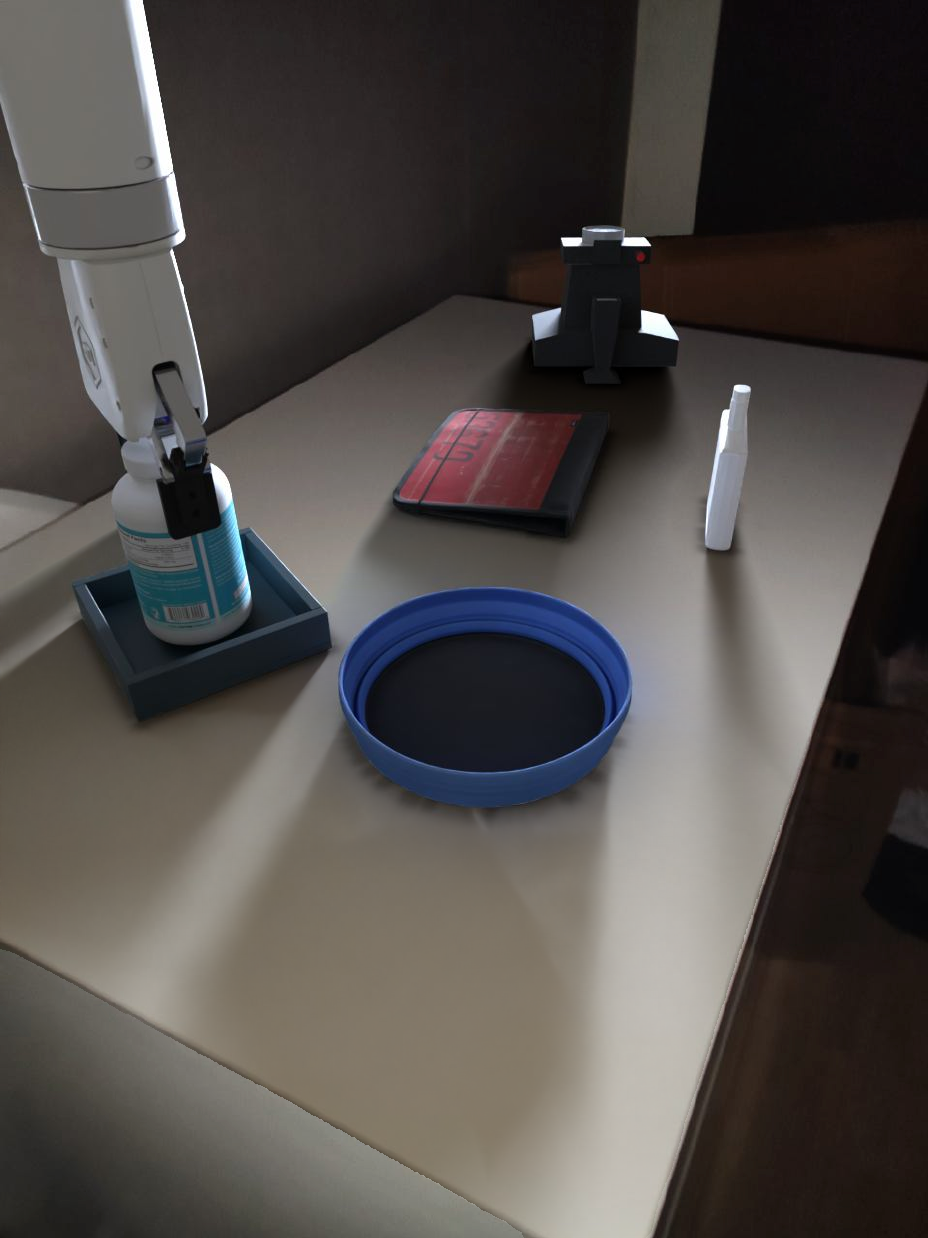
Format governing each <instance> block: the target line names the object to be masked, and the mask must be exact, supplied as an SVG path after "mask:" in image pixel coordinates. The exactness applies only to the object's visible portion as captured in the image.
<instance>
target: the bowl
mask: <svg viewBox="0 0 928 1238" xmlns="http://www.w3.org/2000/svg"><path fill="white" fill-rule="evenodd" d="M337 677H338V678H337V679H338V680H337V689H338V699H339V704H340V707H341V711H342V714H343V716H344V718H345V721H346V723H347V725H348V728H349V729H350V731H351V733H352V735H353V736H354V738H355V741H356V743H357V744H358V747H359V748H360V750H361V751H362V753H363V755H364V756H365V758H366V759H367V761H368V762H370V763H371V765H372V766H374V768H375V770H377V771H379V772H380V774H382V775H383V776H384V777H385V778H387V779H388V780H390V781H391V782H393V783H394V784H396V785H397V786H399V787H402V788H403V789H405V790H406V791H409V792H411V793H413V794H416V795H418V796H420V797H422V798H426V799H429V800H432V801H435V802H439V803H443V804H449V805H452V806H460V807H468V808H501V807H502V808H503V807H509V806H510V807H511V806H516V805H522V804H526V803H527V804H528V803H530V802H531V803H532V802H534V801H538V800H540V799H544V798H546V797H547V798H548V797H549V796H552V795H555V794H557V793H560V792H562V791H563V790H565V789H567V788H569V787H571V786H573V785H574V784H576V783H577V782H579V781H580V780H582V779H583V778H585V777H586V776H587V775H588V774H590V773H591V772H592V771H593V770H594V769H595V768H596V767H597V766H598V765H599V764H600V763H601V762H602V760H603V759H604V758H605V756H606V755H607V754H608V752H609V750H610V749H611V747H612V745H613V742H614V741H615V738H616V737H617V735H618V733H619V732H620V730H621V728H622V727H623V724H624V722H625V721H626V718H627V716H628V713H629V711H630V707H631V703H632V697H633V696H632V695H633V674H632V669H631V664H630V662H629V658H628V656H627V654H626V652H625V650H624V648H623V647H622V645H621V643H620V642H619V641H618V640H617V638H616V637H615V636H614V635H613V633H611V631H609V630H608V629H607V627H606V626H605V625H604V624H602V623H601V622H600V621H598V620H597V619H596V618H595V617H593V616H592V615H590V614H589V613H588V612H586V611H585V610H583V609H581V608H580V607H578V606H576V605H574V604H572V603H570V602H568V601H566V600H562V599H560V598H557V597H555V596H551V595H548V594H545V593H541V592H536V591H532V590H528V589H520V588H514V587H505V586H504V587H502V586H474V587H473V586H470V587H461V588H451V589H446V590H440V591H434V592H430V593H426V594H423V595H420V596H417V597H414V598H411V599H408V600H406V601H404V602H401V603H400V604H397V605H395V606H393V607H391V608H390V609H388V610H386V611H384V612H383V613H381V614H380V615H378V616H377V617H375V618H374V619H373V620H371V621H370V622H369V623H368V624H367V625H366V626H365V627H364V628H363V629H362V630H361V631H359V632H358V633H357V635H356V636H355V637H354V638H353V639H352V640H351V642H350V643H349V645H348V646H347V648H346V649H345V651H344V654H343V656H342V659H341V661H340V664H339V669H338V675H337Z"/></svg>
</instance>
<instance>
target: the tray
mask: <svg viewBox="0 0 928 1238" xmlns="http://www.w3.org/2000/svg"><path fill="white" fill-rule="evenodd" d="M238 531H239V536H240V541H241V546H242V551H243V556H244V561H245V566H246V571H247V576H248V581H249V586H250V592H251V597H252V608H251V612H250V615H249V617H248V618H247V620H246V621H245V622H244V624H243V625H242V626H241V627H240V628H238V629H237V630H236V631H234V632H233V633H231V634H230V635H228V636H226V637H224V638H222V639H219V640H216V641H213V642H210V643H206V644H200V645H177V644H172V643H168V642H165V641H163V640H161V639H159V638H157V637H156V636H155V635H154V634H152V633H151V631H150V630H149V629H148V627H147V625H146V623H145V619H144V616H143V613H142V609H141V606H140V603H139V599H138V596H137V592H136V589H135V585H134V582H133V578H132V575H131V572H130V568H129V565H128V563H127V564H125V565H121V566H118V567H114V568H111V569H108V570H105V571H102V572H98V573H95V574H92V575H89V576H86V577H83V578H79V579H76V580H73V581H70V584H71V587H72V590H73V593H74V596H75V599H76V603H77V605H78V609H79V612H80V615H81V618H82V620H83V621H84V623H85V625H86V627H87V628H88V630H89V633H90V634H91V636H92V638H93V640H94V642H95V644H96V645H97V648H98V650H99V651H100V653H101V654H102V657H103V659H104V660H105V662H106V664H107V666H108V668H109V670H110V671H111V674H112V676H113V677H114V679H115V682H117V685H118V686H119V689H120V690H121V692H122V694H123V696H124V697H125V700H126V701H127V703H128V705H129V707H130V709H131V711H132V713H133V715H134V717H135V718H136V720H137V722H138V723H140V722H143V721H147V720H148V719H152V718H154V717H157V716H159V715H162V714H165V713H166V712H169V711H171V710H174V709H177V708H180V707H182V706H185V705H187V704H190V703H193V702H195V701H197V700H200V699H204V698H206V697H209V696H211V695H213V694H215V693H218V692H221V691H224V690H227V689H229V688H232V687H233V686H237V685H239V684H241V683H244V682H246V681H249V680H252V679H254V678H257V677H260V676H262V675H265V674H267V673H270V672H273V671H275V670H278V669H281V668H283V667H285V666H288V665H291V664H293V663H296V662H298V661H301V660H304V659H306V658H309V657H311V656H314V655H317V654H320V653H322V652H325V651H327V650H330V649H332V648H333V646H332V644H333V643H332V637H331V629H330V621H329V620H330V619H329V613H328V611H327V610H326V609H325V607H323V606H322V604H321V603H320V602H319V601H318V600H317V598H315V597H314V595H312V594H311V592H310V591H309V590H308V589H307V588H306V587H305V586H304V585H303V584H302V582H300V580H299V579H298V578H297V577H296V576H295V574H293V573H292V571H291V570H290V569H289V568H288V567H287V566H286V565H285V564H284V563H283V561H282V560H280V558H279V557H278V556H277V555H276V554H275V553H274V552H273V551H272V549H271V548H270V547H269V546H268V545H267V544H266V543H265V542H264V541H263V539H261V537H259V535H258V534H257V533H256V532H255V531H254V529H252V528H251V527H250V526H248V527H244V528H241V529H238Z"/></svg>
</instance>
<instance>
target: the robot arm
mask: <svg viewBox="0 0 928 1238" xmlns="http://www.w3.org/2000/svg"><path fill="white" fill-rule="evenodd" d="M154 63H155V62H154V58H153V53H152V47H151V41H150V36H149V31H148V25H147V19H146V13H145V8H144V4H143V0H0V107H1V111H2V114H3V118H4V122H5V126H6V129H7V132H8V136H9V140H10V144H11V147H12V152H13V155H14V158H15V160H16V163H17V169H18V173H19V176H20V180H21V184H22V187H23V190H24V191H23V192H24V194H25V199H26V202H27V205H28V206H27V207H28V209H29V213H30V216H31V220H32V223H33V227H34V231H35V235H36V238H37V242H38V245H39V246H38V247H39V250H40V251H41V252H42V253H43V254H44V255H46V256H49V257H51V258H52V257H54V258H56V262H57V267H58V273H59V278H60V283H61V288H62V293H63V297H64V302H65V306H66V311H67V316H68V320H69V325H70V328H71V333H72V338H73V342H74V346H75V350H76V351H75V352H76V355H77V359H78V364H79V368H80V373H81V377H82V381H83V385H84V388H85V391H86V393H87V396H88V398H89V399H90V400H91V402H92V403H93V404H94V406H95V407H96V408H97V409H98V411H99V412H100V413H101V415H102V416H103V417H104V418H105V420H106V421H107V422H108V424H110V425H111V427H112V428H113V429H114V431H115V435H116V438H117V443H118V447H119V451H120V452H121V448H122V446H123V445H124V443H125V442H126V441H130V442H133V443H135V442H139V440H140V438H142V437H147V438H148V441H149V444H150V447H151V450H152V452H153V455H154V458H155V461H156V464H157V467H158V469H159V472H160V475H161V478H160V479H156V483H157V487H158V491H159V496H160V500H161V504H162V508H163V512H164V517H165V521H166V525H167V529H168V533H169V535H170V536H171V537H172V539H174V540H179V539H183V538H186V537H189V536H193V535H196V534H199V533H203V532H206V531H209V530H212V529H216V528H218V527H219V526H220V525H221V516H220V511H219V506H218V501H217V496H216V491H215V486H214V481H213V475H212V467H211V464H212V463H211V460H210V458H209V456H210V453H209V452H208V451H207V450H208V446H207V441H208V439H207V435H206V432H205V431H206V430H205V429H204V426H203V425H204V424H205V422H206V420H207V418H208V415H209V414H208V413H209V412H208V403H207V402H208V401H207V395H206V388H205V383H204V378H203V377H204V376H203V372H202V367H201V362H200V358H199V352H198V348H197V347H198V346H197V343H196V338H195V335H194V334H195V333H194V330H193V325H192V320H191V317H190V313H189V309H188V305H187V301H186V296H185V293H184V285H183V284H182V281H181V276H180V273H179V269H178V265H177V262H176V258H175V255H174V251H173V247H176V246H178V245H179V244H181V243H182V242H183V241H184V240H185V238H186V232H185V227H184V222H183V214H182V210H181V203H180V199H179V194H178V188H177V182H176V177H175V172H174V170H173V169H174V168H173V162H172V156H171V151H170V146H169V140H168V135H167V130H166V129H167V128H166V122H165V118H164V112H163V107H162V102H161V96H160V90H159V86H158V80H157V75H156V69H155V64H154ZM164 416H168V418H169V420H170V422H171V424H169V425H167V422H166V420H165V419H164V418H161V419H157V420H154V419H156V418H160V417H164ZM173 436H176V444H177V446H178V447H176V448H172V449H171V454H170V458H168V455H167V453H166V450H165V447H164V444H163V441H162V439H165V438H169V437H173ZM124 469H125V468H124ZM124 471H125V474H126V473H128V472H127V471H126V469H125V470H124Z"/></svg>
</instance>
